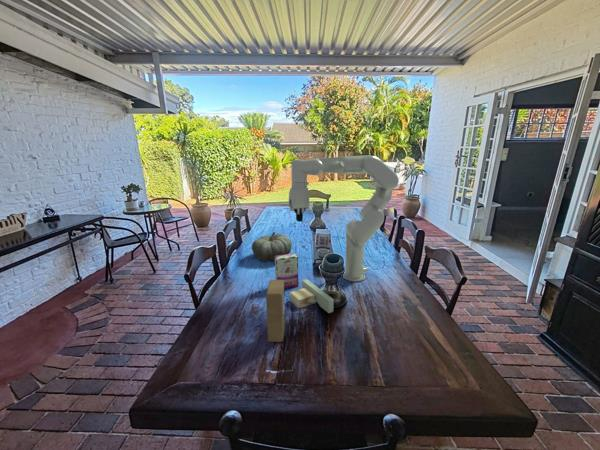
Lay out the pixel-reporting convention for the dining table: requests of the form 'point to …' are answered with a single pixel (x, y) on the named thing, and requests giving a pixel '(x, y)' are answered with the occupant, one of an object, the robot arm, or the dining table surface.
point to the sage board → (320, 296)
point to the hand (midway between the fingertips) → (299, 220)
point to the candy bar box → (287, 269)
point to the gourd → (271, 246)
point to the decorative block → (275, 310)
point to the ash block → (302, 297)
